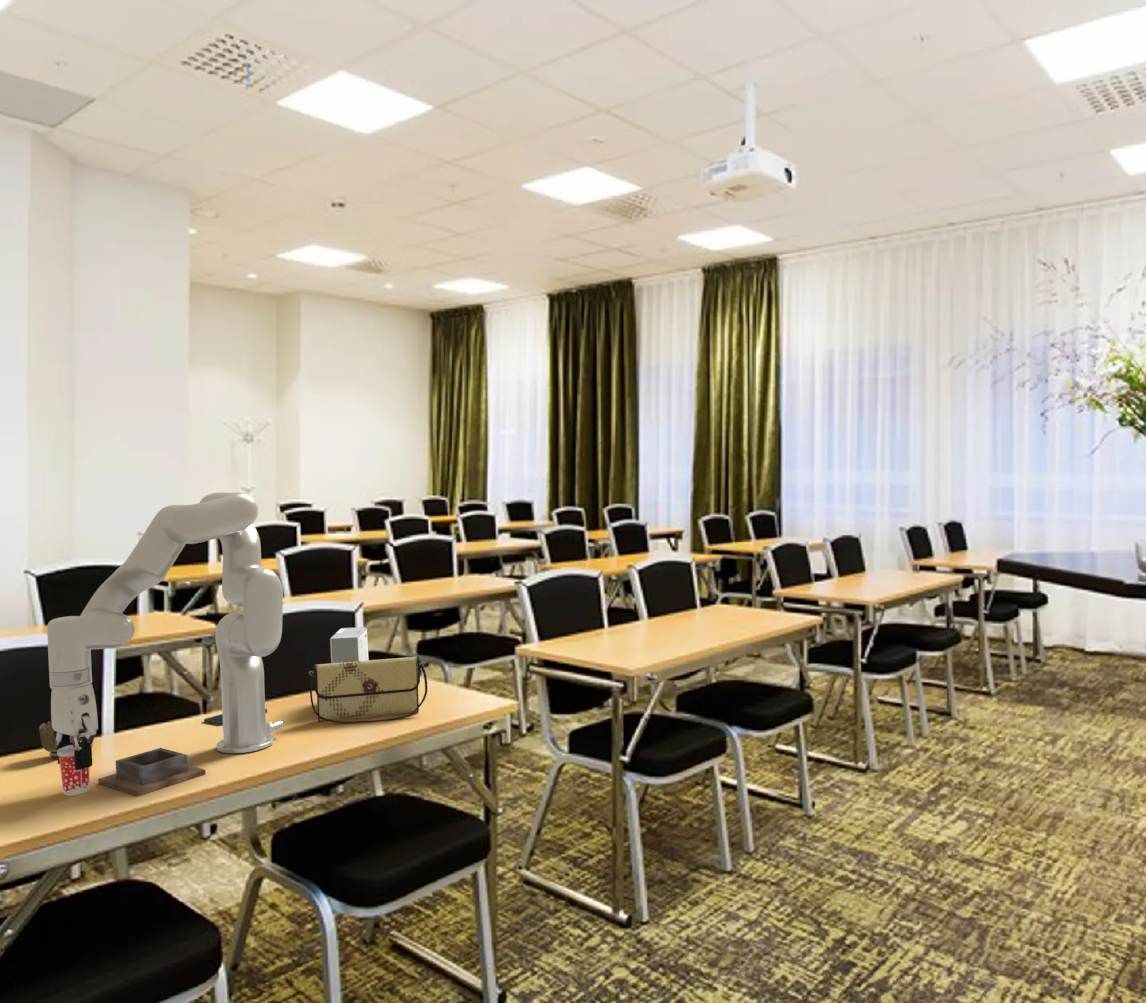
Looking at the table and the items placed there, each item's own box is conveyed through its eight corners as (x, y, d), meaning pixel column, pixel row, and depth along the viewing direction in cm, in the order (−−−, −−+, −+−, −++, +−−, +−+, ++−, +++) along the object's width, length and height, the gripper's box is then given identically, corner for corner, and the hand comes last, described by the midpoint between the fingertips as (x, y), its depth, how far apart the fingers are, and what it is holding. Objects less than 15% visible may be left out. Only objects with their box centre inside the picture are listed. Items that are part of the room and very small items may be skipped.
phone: (269, 709, 242) (220, 723, 229) (269, 713, 242) (220, 727, 229) (250, 706, 246) (201, 719, 233) (250, 710, 246) (201, 723, 233)
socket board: (165, 763, 200) (164, 743, 200) (205, 774, 191) (204, 753, 191) (98, 783, 187) (97, 762, 187) (137, 796, 179) (136, 774, 179)
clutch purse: (310, 728, 225) (308, 669, 224) (311, 721, 231) (308, 663, 231) (429, 717, 232) (427, 659, 232) (427, 710, 239) (425, 654, 238)
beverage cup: (85, 784, 187) (82, 718, 187) (98, 790, 183) (95, 722, 183) (54, 793, 182) (50, 725, 182) (66, 799, 178) (63, 729, 178)
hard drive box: (343, 697, 256) (341, 627, 255) (370, 695, 256) (368, 626, 256) (332, 711, 240) (329, 637, 240) (361, 710, 241) (358, 636, 240)
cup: (32, 762, 204) (30, 727, 203) (55, 751, 211) (53, 718, 211) (62, 762, 203) (60, 727, 202) (84, 752, 210) (82, 718, 210)
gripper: (111, 678, 180) (115, 766, 181) (68, 670, 190) (72, 753, 190) (73, 686, 174) (78, 777, 175) (30, 677, 184) (35, 763, 184)
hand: (75, 764), depth 182 cm, fingers closed on beverage cup, 6 cm apart
